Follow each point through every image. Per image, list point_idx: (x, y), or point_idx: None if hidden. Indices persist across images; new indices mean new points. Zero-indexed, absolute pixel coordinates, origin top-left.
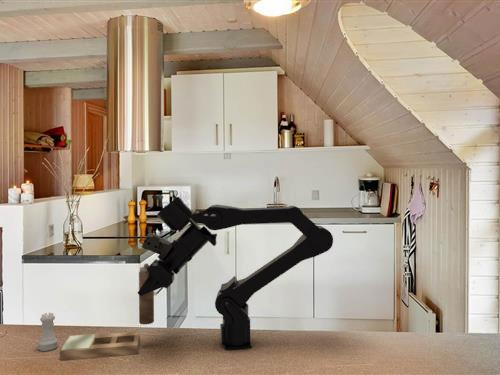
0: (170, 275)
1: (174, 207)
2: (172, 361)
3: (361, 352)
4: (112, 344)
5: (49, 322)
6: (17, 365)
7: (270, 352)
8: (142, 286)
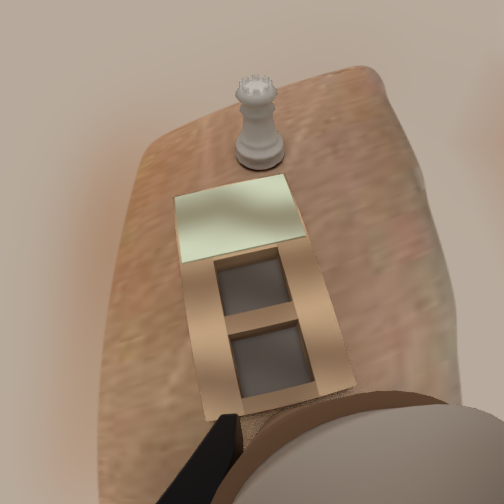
0: None
1: None
2: None
3: None
4: (215, 328)
5: (246, 106)
6: (164, 149)
7: None
8: (178, 476)
